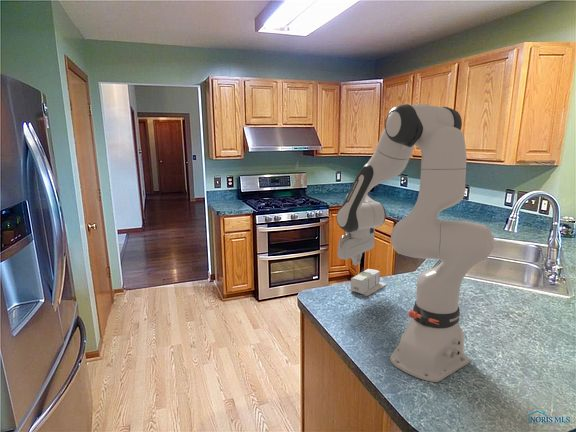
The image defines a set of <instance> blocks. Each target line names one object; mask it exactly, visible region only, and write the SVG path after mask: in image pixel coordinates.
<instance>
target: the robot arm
mask: <svg viewBox="0 0 576 432" xmlns="http://www.w3.org/2000/svg"><path fill="white" fill-rule="evenodd" d="M462 126H463V121H462V117H461V115H460V113H459V112H458V110H455V109H454V108H451V107H448V106H438V105H429V104H422V103H421V104H408V103H407V104H401V105H400V104H399V105H397V106H394V107H392V108H391V109H390V111H389V112H388V114H387V116H386V118H385V122H384V129H383V130H382V133H381V135H380V138H379V140H378V142H377V145H376V147H375V150H374V152H373V154H372V156H371V157H370V158H369V160H368V161H367V163H365V164H364V165H363V167H362V166H361V167H362V168H361V169H359V171H358V173H357V175H356V177H355V179H354V181H353V183H352V185H351V187H350V190H349V192H348V193H347V194H346V195H345V196H346V197H345V200H344V201H343V203H342V204H341V205H340V207H339V208H338V210H337V212H336V223H337V225H338V227H340V229H341V230H343V231H344V235H341V237H340V239H339V241H338V243H337V258H338V259H339V260H344V261H345V260H349V259H351V261H352V263H351V264H352V266H358V265H360V264H361V259H362V257H363V254H364V253H365V252H369V251H370V250H372V249H374V247H375V232H376V228H378V227H380V226H383V224H384V223H385V221H386V219H387V218H386V216H387V212H386V208H385V206H384V205H383V204H382V203H381V202H379V201H376V200H374V199H372V198H371V197H370V196H369V194H368V193H369V192H370V191H371V190H372V189H373V188H374V187H376V186H379V184H382V183H384V182H387V181H390V180H393V179H395V178H396V177H398V176H400V175H401V174H402V173H403V171H404V170H405V169H406V167H407V166H408V164H409V161H410V159H411V155H412V153H413V150H414V148H415V146H417V147H418V148H419V150H420V153H421V163H420V180H419V181H420V182H419V190H418V196H417V199H416V202H415V205H414V206H413V208H412V209H411V211H410V212H409V213H408V214H406V216H404V217H403V218H402V219H400V220H399V221H398V222H397V223H396V224H395V225H394V226H393V227H392V230H391V233H390V242H391V245H392V248H393V249H394V251H395V252H396V253H397V254H398V255H402V256H406V257H409V258H410V257H411V258H415V259H425V260H435V261H437V260H438V261H441V262H440V263H439V265H436V266H435V267H432V268H429V269H427V270H424V271H423V272H422V273H420V274H419V275H418V277H417V280H416V293H415V295H416V297H415V301H414V304H413V308H412V309H410V310H409V312H408V317H409V318H411V319H410V320H409V322H408V324H407V325H406V327H405V330H404V332H403V333H402V336H401V338H400V341H399V343H398V345H397V346H396V347H395V349H394V350H393V352H392V354H391V355H390V356H389V362H391V364H392V365H393V366H394V367H396V368H398V369H399V370H401V371H403V372H404V373H406V374H409V375H410V376H413V377H415V378H417V379H421V380H423V381H427V382H432V383H438V382H440V381H443V380H444V379H445V378H447V377H448V376H450V375H452V374H453V373H455V372H456V371H459V370H460V369H461V368H463V367H465V366H466V365H468V364H469V363H470V358H469V357H468V355H466V354H465V333H464V331H463V329H462V327H461V326H460V323H459V322H460V317H461V312H460V310H461V309H460V307H459V299H460V292H461V291H460V290H461V287H462V284H463V283H462V282H463V280H464V278H465V276H466V275H467V274H468V273H469V272H470V270H472V268H473V267H475V266H476V265H478V264H480V263H481V262H484V261H486V260H487V259H488V258H489V256H490V255H491V254H492V253H493V251H494V247H495V238H494V234H493V232H492V231H491V230H490V228H489V227H488V226H487V225H485V224H481V223H478V222H475V221H469V220H450V219H449V220H446V219H440V218H439V219H438V215H439V214H440V213H441V212H442V211H444V210H446V209H449V208H452V207H454V206H455V205H457V204H459V203H460V202H462V200H463V199H464V197H465V193H466V181H467V180H466V177H467V174H466V173H467V147H466V141H465V136H464V133H463V131H462Z"/></svg>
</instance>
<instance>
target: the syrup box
mask: <svg viewBox="0 0 576 432" xmlns="http://www.w3.org/2000/svg"><path fill="white" fill-rule="evenodd" d="M380 273H381V272H380V270H377V269H373V268H372V269H371V268H367V269H365V270H364V271H361V272H360V273H357V275H354V276H351V278H350V288H351V290H350V291H352V292H353V293H357V294H360V293H361V294H360V295H363V293H364V292H366V291H367V290H369V289H371V288H372V287H374V286H375V285H377V284H378V283H380V282H381V281H380V279H381V278H380V277H381V274H380Z"/></svg>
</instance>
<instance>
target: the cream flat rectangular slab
mask: <svg viewBox="0 0 576 432" xmlns="http://www.w3.org/2000/svg"><path fill="white" fill-rule="evenodd" d="M386 286H388V284H387V283H385V282H381V281H380V283H378V284H377V285H375V286H374V287H372V288H371V289H369V290H367V291H366V292H364V293H363V294H361V293H359V294H360V295H363V296H369V295H372V294H373V293H375V292H377V291H379V290H380V289H382V288H384V287H386ZM348 290H349V291H351V287H349V289H348Z"/></svg>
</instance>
